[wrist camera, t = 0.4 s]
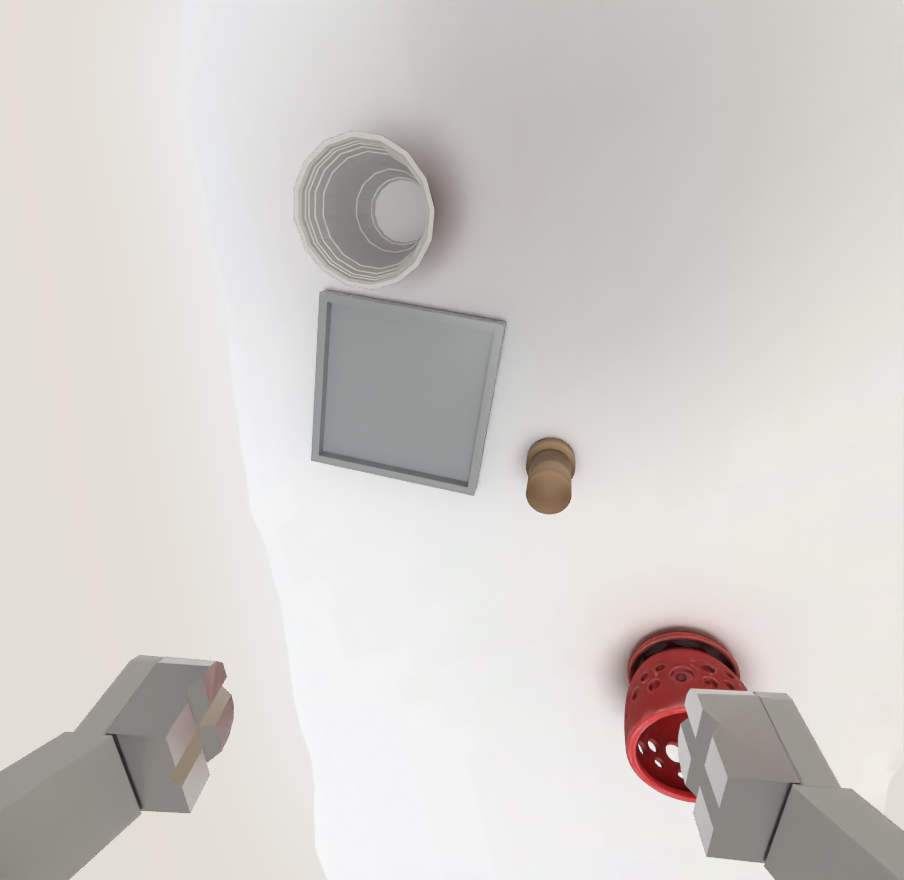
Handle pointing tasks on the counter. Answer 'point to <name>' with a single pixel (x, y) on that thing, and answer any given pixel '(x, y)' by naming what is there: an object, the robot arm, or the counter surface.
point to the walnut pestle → (550, 475)
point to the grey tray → (403, 390)
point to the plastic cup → (363, 210)
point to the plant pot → (670, 701)
